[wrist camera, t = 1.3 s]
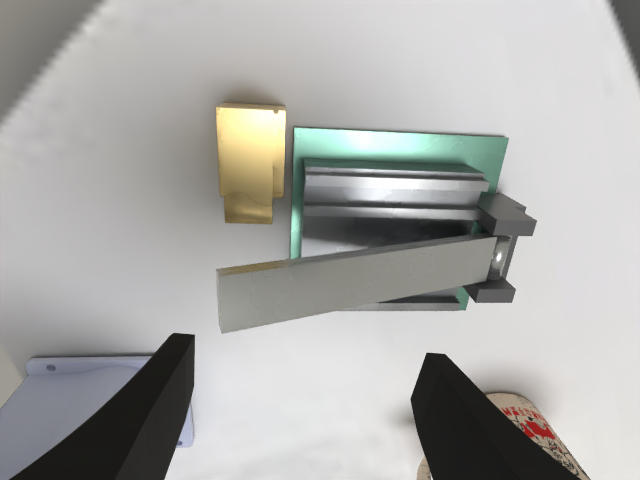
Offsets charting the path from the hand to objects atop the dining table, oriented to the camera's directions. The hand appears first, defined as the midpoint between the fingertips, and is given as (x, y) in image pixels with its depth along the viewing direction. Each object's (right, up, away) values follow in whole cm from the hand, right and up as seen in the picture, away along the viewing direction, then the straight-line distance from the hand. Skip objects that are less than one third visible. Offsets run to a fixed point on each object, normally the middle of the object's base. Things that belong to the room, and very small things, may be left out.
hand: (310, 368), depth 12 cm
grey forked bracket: (+9, +5, +11) cm, 15 cm away
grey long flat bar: (+3, +3, +6) cm, 7 cm away
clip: (-3, +9, +8) cm, 12 cm away
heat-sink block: (+4, +5, +11) cm, 12 cm away
